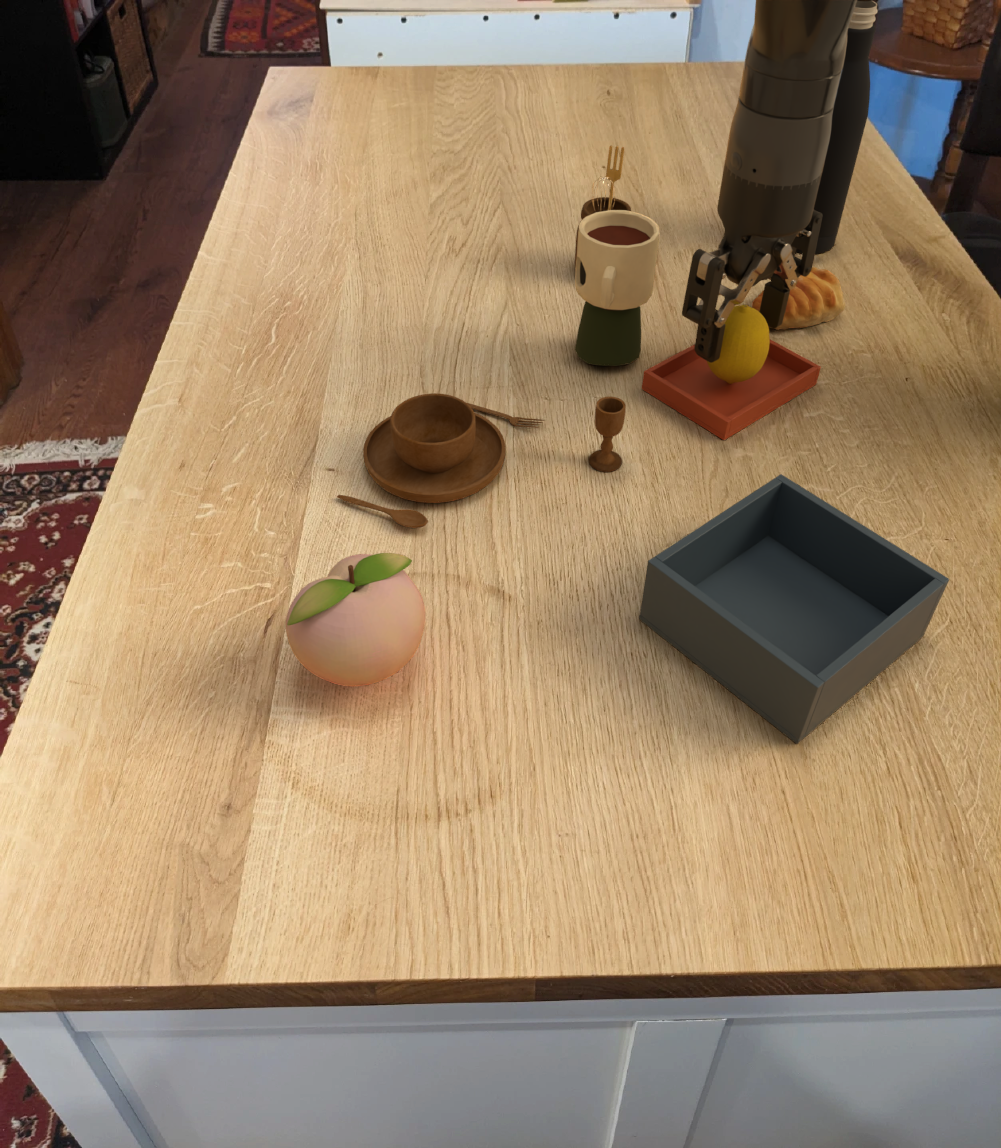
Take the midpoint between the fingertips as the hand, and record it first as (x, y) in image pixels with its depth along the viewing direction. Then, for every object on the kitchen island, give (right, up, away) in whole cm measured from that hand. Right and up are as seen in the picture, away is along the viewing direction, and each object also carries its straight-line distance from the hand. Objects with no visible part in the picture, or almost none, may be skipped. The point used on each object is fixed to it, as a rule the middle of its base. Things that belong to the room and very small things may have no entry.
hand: (738, 340), depth 91 cm
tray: (0, -3, +4) cm, 5 cm away
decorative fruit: (-30, -28, -20) cm, 46 cm away
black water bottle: (+13, +16, +23) cm, 31 cm away
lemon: (0, -3, +3) cm, 5 cm away
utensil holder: (-10, +12, +19) cm, 24 cm away
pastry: (+9, +5, +13) cm, 16 cm away
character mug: (-11, 0, +7) cm, 13 cm away
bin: (-1, -25, -17) cm, 30 cm away
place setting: (-23, -13, -5) cm, 27 cm away
